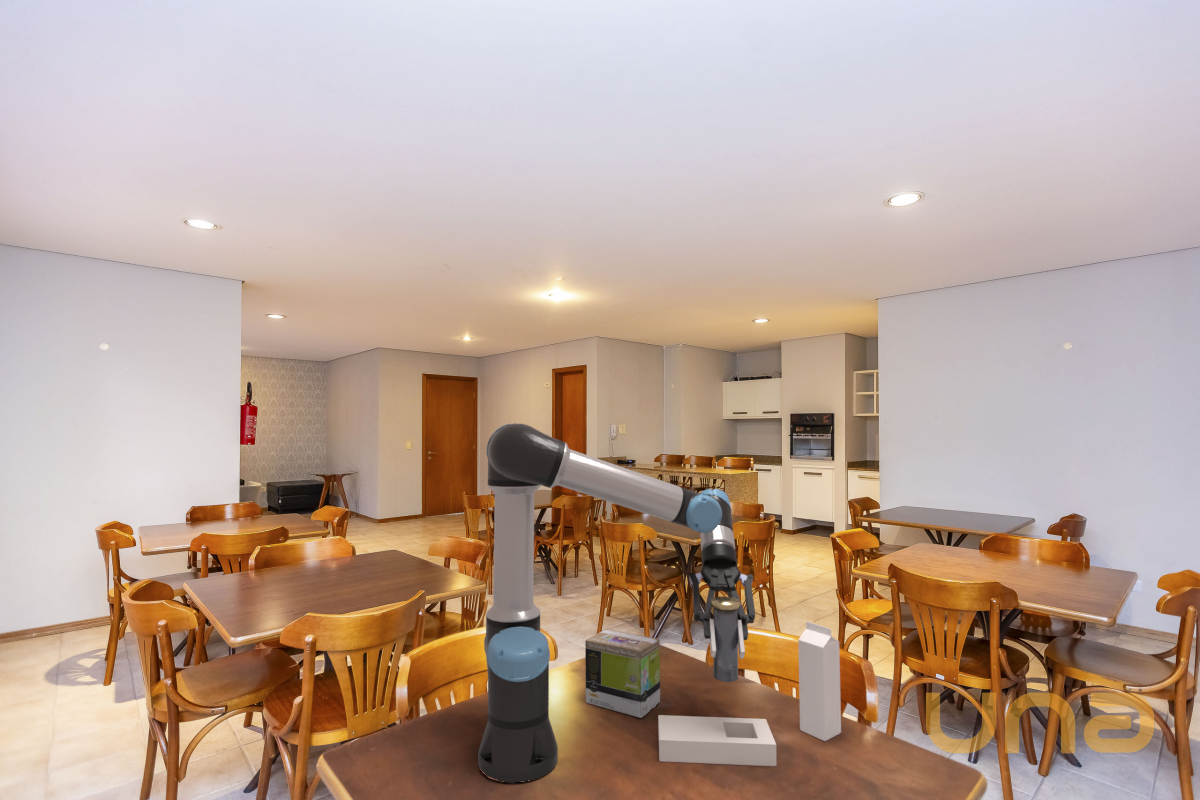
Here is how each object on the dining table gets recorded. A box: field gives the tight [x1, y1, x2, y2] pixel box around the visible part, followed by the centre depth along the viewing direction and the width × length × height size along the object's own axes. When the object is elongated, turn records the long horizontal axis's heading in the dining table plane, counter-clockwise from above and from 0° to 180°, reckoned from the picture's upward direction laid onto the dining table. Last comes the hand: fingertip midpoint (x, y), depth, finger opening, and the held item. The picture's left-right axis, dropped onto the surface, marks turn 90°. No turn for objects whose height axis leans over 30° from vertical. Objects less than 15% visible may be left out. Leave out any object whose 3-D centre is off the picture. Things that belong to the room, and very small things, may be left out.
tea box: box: [584, 628, 661, 719], centre depth 139 cm, size 15×10×15 cm, turn 58°
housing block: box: [657, 714, 778, 767], centre depth 119 cm, size 22×10×4 cm, turn 85°
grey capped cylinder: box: [711, 596, 741, 683], centre depth 119 cm, size 6×6×15 cm
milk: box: [798, 621, 842, 742], centre depth 126 cm, size 6×6×22 cm
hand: (727, 654), depth 116 cm, fingers closed on grey capped cylinder, 5 cm apart
